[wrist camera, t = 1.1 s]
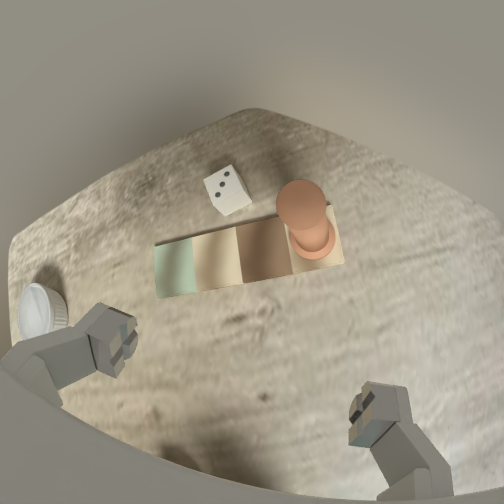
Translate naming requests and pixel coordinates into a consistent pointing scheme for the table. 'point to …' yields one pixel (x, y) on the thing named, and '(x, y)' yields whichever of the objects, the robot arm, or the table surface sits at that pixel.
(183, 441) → the table surface
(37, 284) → the ramekin
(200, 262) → the board
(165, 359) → the table surface
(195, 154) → the table surface
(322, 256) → the round-topped peg
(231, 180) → the die
